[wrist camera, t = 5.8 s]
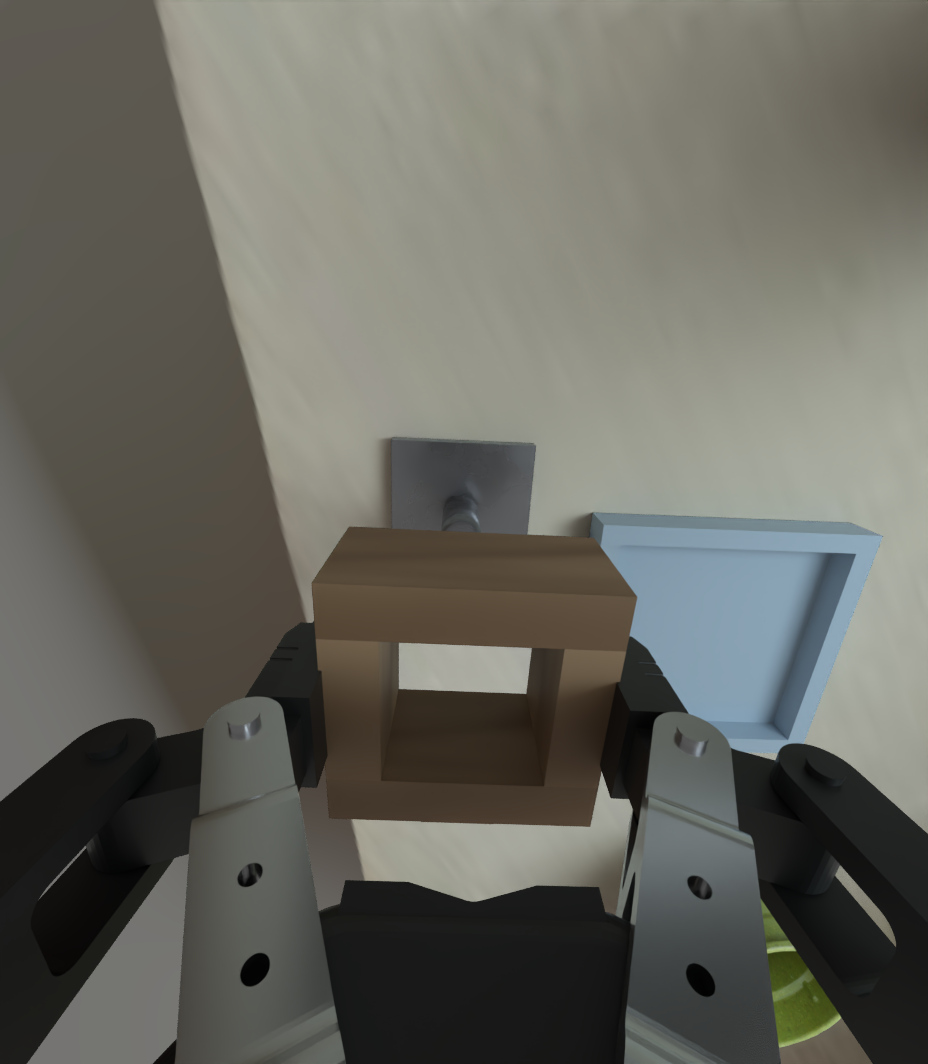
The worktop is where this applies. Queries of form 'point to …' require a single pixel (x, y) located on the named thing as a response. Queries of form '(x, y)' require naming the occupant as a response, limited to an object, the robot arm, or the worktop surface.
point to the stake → (461, 485)
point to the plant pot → (794, 989)
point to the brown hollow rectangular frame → (468, 717)
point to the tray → (742, 612)
